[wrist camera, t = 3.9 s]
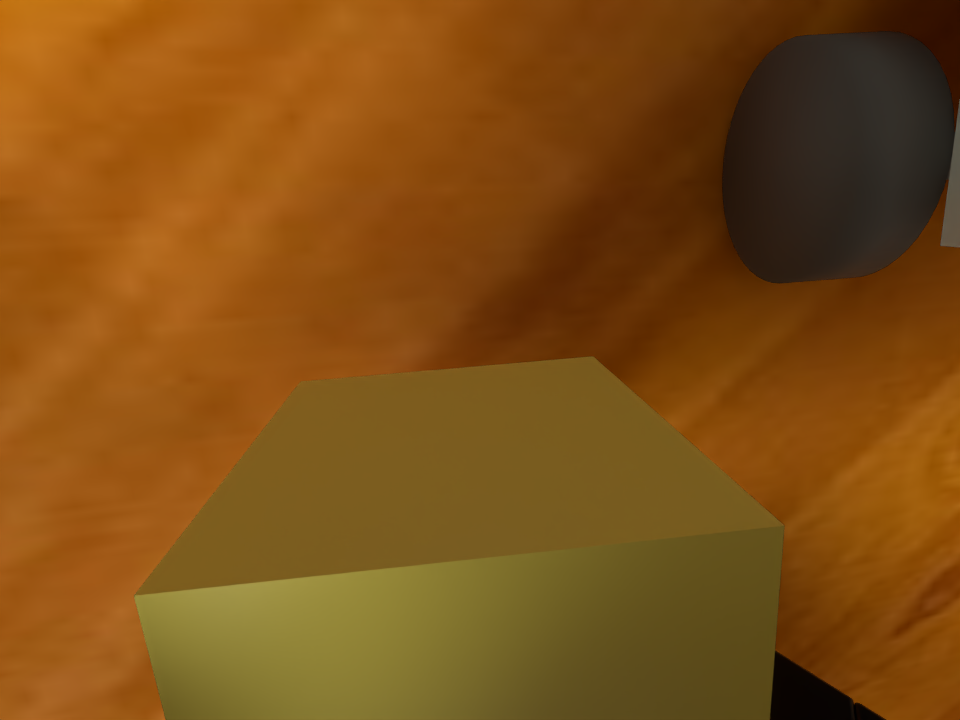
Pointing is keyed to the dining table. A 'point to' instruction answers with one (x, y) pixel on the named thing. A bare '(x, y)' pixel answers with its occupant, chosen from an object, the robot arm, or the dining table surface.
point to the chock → (469, 561)
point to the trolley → (840, 156)
